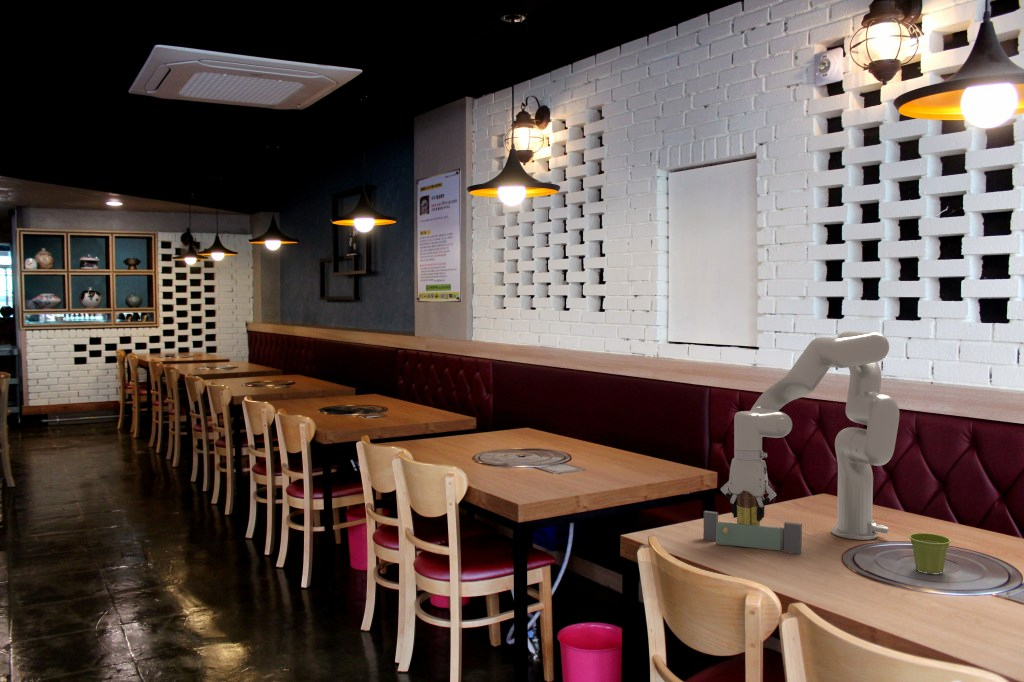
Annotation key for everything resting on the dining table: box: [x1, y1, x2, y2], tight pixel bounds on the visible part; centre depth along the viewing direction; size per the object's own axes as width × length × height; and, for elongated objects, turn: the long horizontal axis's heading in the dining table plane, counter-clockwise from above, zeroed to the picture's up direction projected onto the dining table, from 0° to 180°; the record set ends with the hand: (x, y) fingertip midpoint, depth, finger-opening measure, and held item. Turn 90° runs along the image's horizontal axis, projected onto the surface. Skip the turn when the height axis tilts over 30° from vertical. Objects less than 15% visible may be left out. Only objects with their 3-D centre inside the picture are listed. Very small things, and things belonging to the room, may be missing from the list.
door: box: [715, 521, 784, 551], centre depth 224 cm, size 18×3×6 cm, turn 70°
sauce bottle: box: [736, 490, 761, 526], centre depth 228 cm, size 7×6×20 cm
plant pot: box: [908, 532, 952, 573], centre depth 204 cm, size 9×9×9 cm
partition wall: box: [702, 510, 803, 555], centre depth 226 cm, size 27×2×8 cm, turn 58°
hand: (747, 517), depth 228 cm, fingers closed on sauce bottle, 6 cm apart
